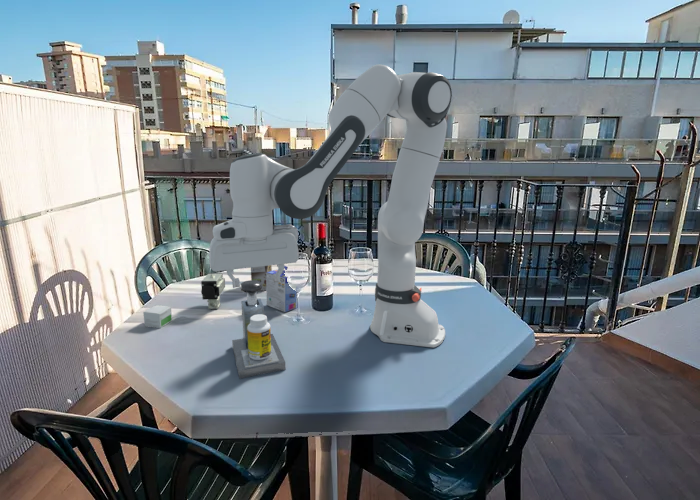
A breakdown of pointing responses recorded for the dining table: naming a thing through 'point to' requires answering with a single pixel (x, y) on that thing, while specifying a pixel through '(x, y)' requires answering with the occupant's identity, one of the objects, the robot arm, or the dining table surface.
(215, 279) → the pneumatic valve
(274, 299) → the ink cartridge box
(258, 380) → the dining table surface
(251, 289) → the ram
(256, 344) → the supplement bottle
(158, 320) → the small box
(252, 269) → the coffee box
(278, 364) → the press
